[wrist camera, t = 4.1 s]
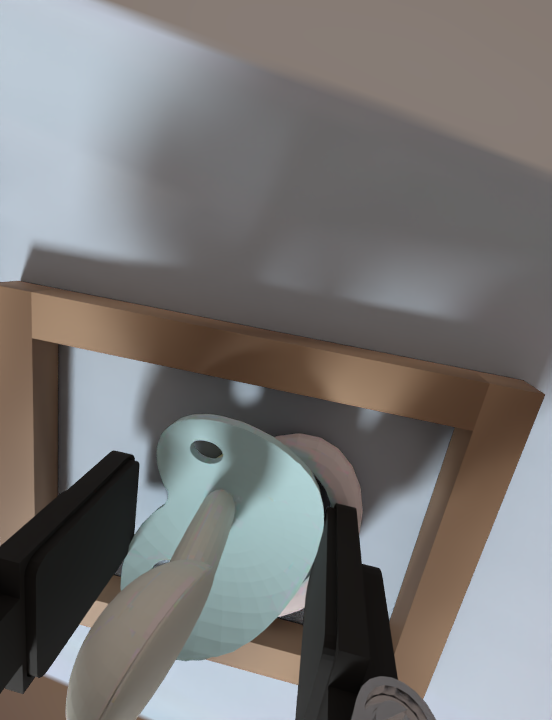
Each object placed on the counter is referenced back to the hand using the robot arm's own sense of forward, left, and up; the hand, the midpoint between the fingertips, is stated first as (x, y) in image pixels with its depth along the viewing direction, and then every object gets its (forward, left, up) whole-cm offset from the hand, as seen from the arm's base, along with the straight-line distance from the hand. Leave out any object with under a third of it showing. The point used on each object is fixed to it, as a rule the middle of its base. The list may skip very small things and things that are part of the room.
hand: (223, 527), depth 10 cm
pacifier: (-1, 0, -1) cm, 2 cm away
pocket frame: (0, 0, -1) cm, 1 cm away
